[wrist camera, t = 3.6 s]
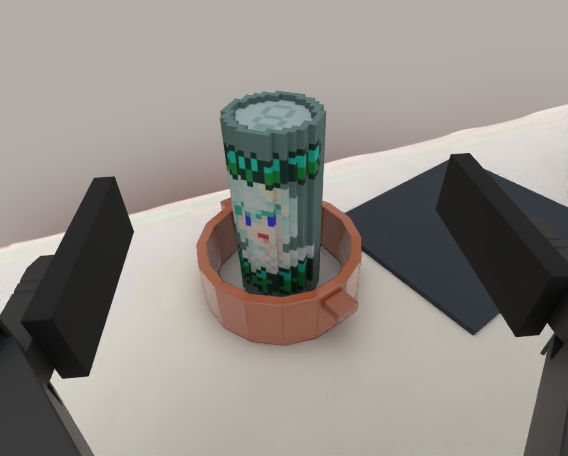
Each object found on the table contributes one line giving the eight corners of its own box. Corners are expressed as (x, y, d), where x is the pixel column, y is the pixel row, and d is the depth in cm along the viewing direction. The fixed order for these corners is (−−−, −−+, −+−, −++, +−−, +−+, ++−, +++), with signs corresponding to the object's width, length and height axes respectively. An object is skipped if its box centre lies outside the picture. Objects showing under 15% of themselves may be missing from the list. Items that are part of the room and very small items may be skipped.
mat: (454, 159, 48) (455, 155, 47) (599, 226, 38) (602, 222, 37) (329, 224, 39) (329, 220, 39) (473, 335, 29) (475, 331, 29)
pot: (285, 207, 41) (284, 170, 38) (403, 302, 31) (413, 262, 28) (173, 259, 36) (162, 221, 33) (273, 394, 26) (269, 357, 23)
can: (232, 296, 32) (203, 125, 23) (262, 248, 37) (248, 87, 27) (302, 317, 30) (303, 141, 21) (325, 264, 35) (335, 98, 25)
